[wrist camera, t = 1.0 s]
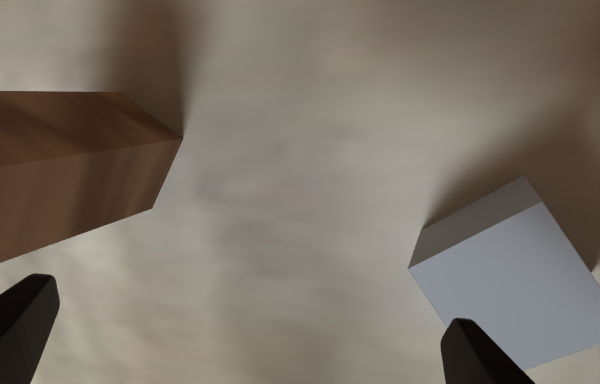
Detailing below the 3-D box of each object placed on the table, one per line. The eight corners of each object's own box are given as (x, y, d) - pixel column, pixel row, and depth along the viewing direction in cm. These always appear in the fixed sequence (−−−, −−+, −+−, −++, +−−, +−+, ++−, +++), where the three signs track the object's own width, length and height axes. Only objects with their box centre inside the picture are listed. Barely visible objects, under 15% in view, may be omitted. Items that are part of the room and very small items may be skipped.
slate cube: (589, 272, 18) (631, 333, 13) (480, 318, 20) (484, 384, 15) (523, 174, 18) (542, 201, 14) (421, 229, 20) (407, 269, 16)
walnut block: (183, 138, 24) (-98, 181, 12) (151, 208, 26) (-118, 304, 14) (118, 92, 25) (-201, 89, 13) (93, 162, 27) (-207, 216, 15)
